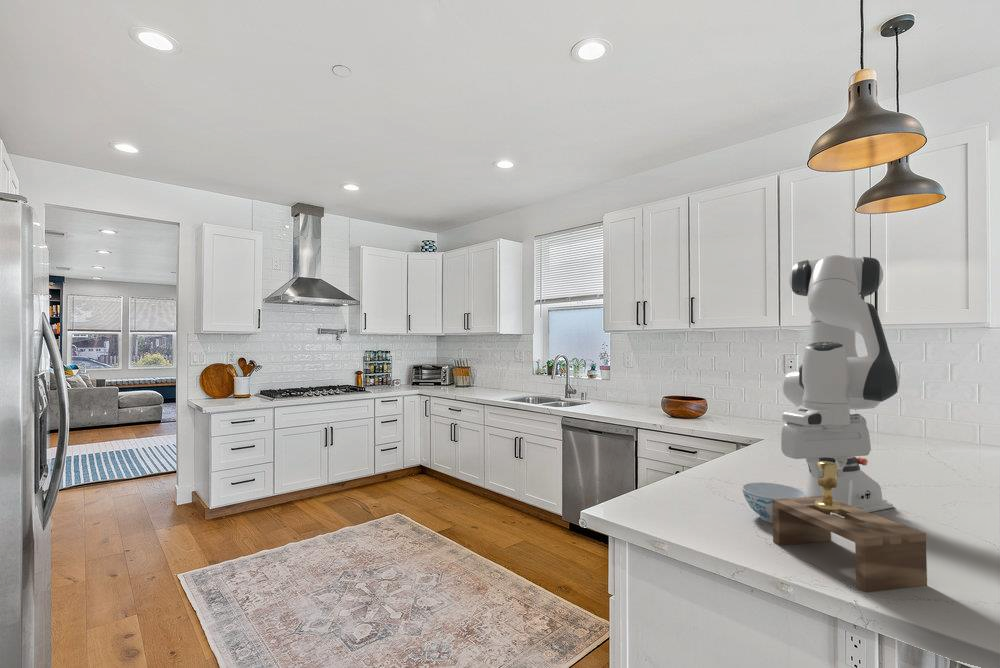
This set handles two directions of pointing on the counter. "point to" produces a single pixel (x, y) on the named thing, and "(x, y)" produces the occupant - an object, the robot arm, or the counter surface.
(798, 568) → the counter surface
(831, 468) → the brass peg
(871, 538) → the keyhole shelf
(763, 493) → the chinaware
